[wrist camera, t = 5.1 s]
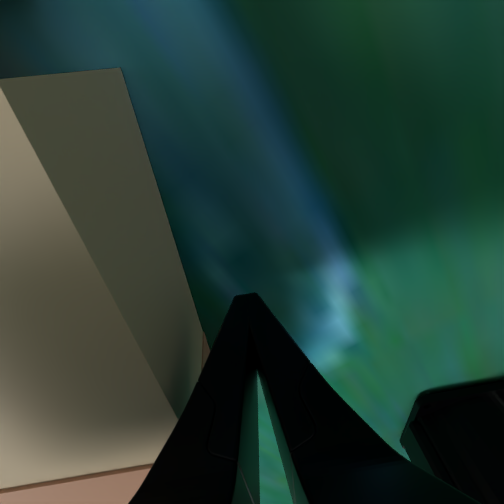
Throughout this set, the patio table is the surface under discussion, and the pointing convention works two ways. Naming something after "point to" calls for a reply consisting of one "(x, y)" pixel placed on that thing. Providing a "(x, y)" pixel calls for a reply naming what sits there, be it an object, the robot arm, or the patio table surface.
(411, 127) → the patio table surface
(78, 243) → the carton
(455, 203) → the patio table surface
